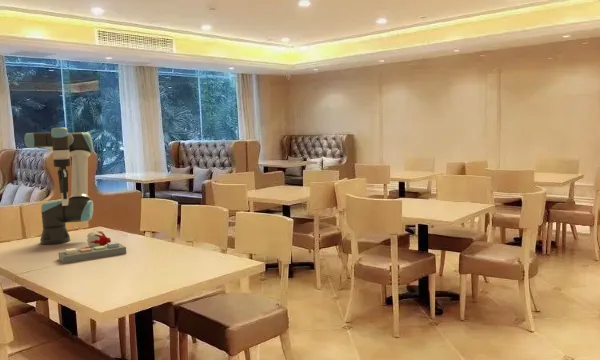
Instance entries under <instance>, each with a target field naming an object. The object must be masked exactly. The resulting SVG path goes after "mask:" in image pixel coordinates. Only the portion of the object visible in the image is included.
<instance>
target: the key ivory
mask: <svg viewBox="0 0 600 360" xmlns="http://www.w3.org/2000/svg"><path fill="white" fill-rule="evenodd" d="M77 250H78V249H77V248H76V247H73V248H72V247H71V248H66V249H65V250H64V252H66V255H70V254H76V253H77Z"/></svg>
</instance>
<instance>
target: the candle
mask: <svg viewBox="0 0 600 360" xmlns="http://www.w3.org/2000/svg"><path fill="white" fill-rule="evenodd" d="M111 242H112V240H111V238H110V237H107V236H106V234H104V231H102V230H98V229H94V230H93V231H90V232H88V234H87V245H88V246H89V247H88V248H93V247H98V246H106V245H107V243H111Z"/></svg>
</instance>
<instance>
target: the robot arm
mask: <svg viewBox="0 0 600 360" xmlns="http://www.w3.org/2000/svg"><path fill="white" fill-rule="evenodd" d="M50 131H51V132H50ZM50 131H49V132H48V131H47V132H26V133H25V134H24V146H25V147H26V148H31V149H35V148H41V149H47V150H49V151H52V152H51V155H52V157H53V167H55V168H58V170H57V177H58V185H59V186H58V187H59V191H60V196H61V198H60V199H56V200H51V201H48V202H43V203H42V204H41V210H40V211H41V222H42V223H41V224H42V232H41V236H40V238H39V239H40V240H39V241H40V245H57V244H58V245H59V244H63V243H64V244H65V243H68V242H70V241H71V236H70V233H69V231H68V229H67V226H66V224H67V223H79V222H81V223H83V222H89V221H91V220H92V218H93V215H94V214H93V213H94V205H95V204H94V201H93V200H92V199H91V196H89V193H88V191H89V189H88V188H89V187H88V186H89V185H88V184H89V183H88V182H89V178H88V177H89V176H88V174H89V172H88V169H89V163H88V162H89V161H88V160H89V159H88V158H89V157H90V156H91V153H92V152H94V150H95V149H94V143H93V138H92V136H91V133H90V132H86V131H85V132H83V131H80V132H68V128H67V127H53V128H51V130H50ZM70 157H71V159H70ZM70 166H71V193H70V194H71V195H70V196H69V194H68V193H69V172H68V170H67V167H70Z"/></svg>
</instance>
